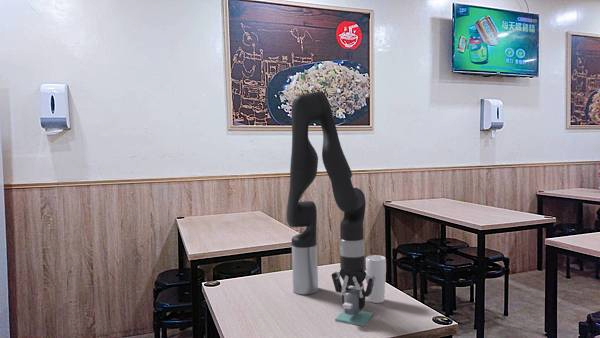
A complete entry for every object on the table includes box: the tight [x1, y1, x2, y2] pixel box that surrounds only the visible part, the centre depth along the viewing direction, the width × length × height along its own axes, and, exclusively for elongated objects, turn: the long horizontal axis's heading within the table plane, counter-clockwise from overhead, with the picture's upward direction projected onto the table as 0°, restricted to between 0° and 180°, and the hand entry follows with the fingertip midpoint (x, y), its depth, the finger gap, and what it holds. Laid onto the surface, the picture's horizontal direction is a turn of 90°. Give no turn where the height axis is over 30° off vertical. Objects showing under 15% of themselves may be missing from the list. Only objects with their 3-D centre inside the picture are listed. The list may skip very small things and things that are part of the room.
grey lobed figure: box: [342, 286, 362, 315], centre depth 126 cm, size 9×4×6 cm, turn 151°
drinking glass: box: [365, 254, 387, 304], centre depth 141 cm, size 7×7×15 cm
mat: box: [334, 310, 374, 327], centre depth 128 cm, size 9×9×1 cm
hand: (353, 307), depth 128 cm, fingers closed on grey lobed figure, 4 cm apart
